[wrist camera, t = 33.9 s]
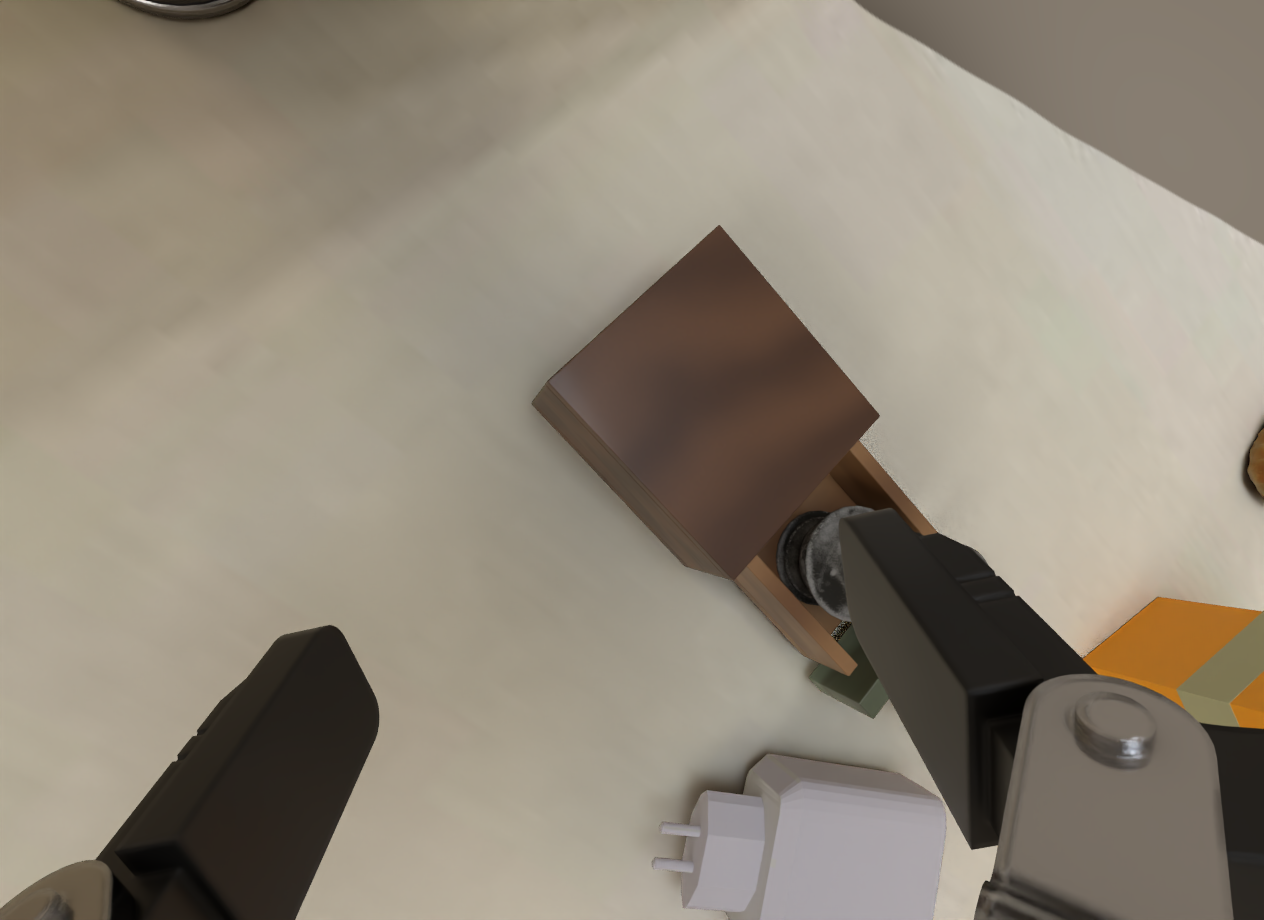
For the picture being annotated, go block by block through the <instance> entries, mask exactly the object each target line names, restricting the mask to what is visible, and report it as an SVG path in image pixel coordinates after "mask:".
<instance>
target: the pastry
mask: <svg viewBox="0 0 1264 920" xmlns="http://www.w3.org/2000/svg"><path fill="white" fill-rule="evenodd" d="M1257 435H1258V438H1257V439H1256V441H1254V444H1253V446H1252V448H1251V450H1250V455H1249V457H1250V463H1249V466H1248V469H1247V472H1248V474H1249V476H1250V479H1251V480H1252V481H1253V483H1254V484H1255V486H1256V488H1257V490H1258V492H1259V493H1260V494H1261V495H1262V496H1263V497H1264V428H1263V429H1262V430H1261V432H1260V433H1259V434H1257Z"/></svg>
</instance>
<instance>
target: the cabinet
mask: <svg viewBox="0 0 1264 920" xmlns="http://www.w3.org/2000/svg"><path fill="white" fill-rule="evenodd" d="M532 405H533V406H534V407H535V408H536V409H537V410H538V411H539V412H540V413H541V415H542V416H543V417H544V418H545V419H546V420H547V421H548V422H549V423H550V424H551V425H552V426H553V427H554V428H555V429H556V430H557V431H558V433H559V434H560V435H561V436H562V437H563V438H564V439H565V440H566V441H567V442H568V443H569V444H570V445H571V446H572V447H573V448H574V449H575V450H576V452H577V453H578V454H579V455H580V456H581V457H582V458H583V459H584V460H585V461H586V462H587V463H588V464H589V465H590V466H591V467H592V468H593V470H594V471H595V472H596V473H597V474H598V475H599V476H600V477H601V478H602V479H603V480H604V481H605V482H606V483H607V484H608V485H609V486H610V488H611V489H612V490H613V491H614V492H615V493H616V494H617V495H618V496H619V497H620V498H621V499H622V500H623V501H624V502H625V503H626V504H627V506H628V507H629V508H630V509H631V510H632V511H633V512H634V513H635V514H636V515H637V516H638V517H639V518H640V519H641V520H642V521H643V522H644V524H645V525H646V526H647V527H648V528H649V529H650V530H651V531H652V532H653V533H654V534H655V535H656V536H657V537H658V538H659V539H660V540H661V541H662V543H663V544H664V545H665V546H666V547H667V548H668V549H669V550H670V551H671V552H672V553H673V554H674V555H675V556H676V557H677V558H678V559H679V561H680V562H681V563H682V564H683V565H684V566H686V567H689V568H692V569H696V570H699V571H703V572H706V573H709V574H713V575H716V576H720V577H723V578H726V579H730V580H735V579H736V578H737V576H738V575H739V574H740V573H741V572H742V571H743V570H744V569H745V567H746V566H747V565H748V564H749V563H750V562H751V561H752V560H753V558H754V557H755V556H756V555H757V554H758V553H759V552H760V551H761V549H762V548H763V547H764V546H765V545H766V544H767V543H768V542H769V540H770V539H771V538H772V537H773V536H774V535H775V534H776V533H777V531H778V530H779V529H780V528H781V527H782V526H783V525H784V523H785V522H786V521H787V520H788V519H789V518H790V517H791V516H792V514H793V513H794V512H795V511H796V510H797V509H798V508H799V507H800V505H801V504H802V503H803V502H804V501H805V500H806V499H807V498H808V496H809V495H810V494H811V493H812V492H813V491H814V490H815V489H816V487H817V486H818V485H819V484H820V483H821V482H822V481H823V480H824V478H825V477H826V476H827V475H828V474H829V473H830V472H831V471H832V469H833V468H834V467H835V466H836V465H837V464H838V463H839V462H840V460H841V459H842V458H843V457H844V456H845V455H846V454H847V453H848V451H849V450H850V449H851V448H852V447H853V446H854V445H855V443H856V442H857V441H858V440H859V439H860V438H861V437H862V436H863V434H864V433H865V432H866V431H867V430H868V429H869V428H870V427H871V425H872V424H873V423H874V422H875V421H876V420H877V419H878V418H879V416H880V415H879V414H878V413H877V411H876V410H875V409H874V408H873V407H872V405H871V404H870V403H869V402H868V401H867V400H866V398H865V397H864V396H863V395H862V394H861V392H860V391H859V390H858V389H857V388H856V386H855V385H854V384H853V383H852V382H851V380H850V379H849V378H848V377H847V376H846V375H845V373H844V372H843V371H842V370H841V369H840V367H839V366H838V365H837V364H836V363H835V361H834V360H833V359H832V358H831V357H830V356H829V354H828V353H827V352H826V351H825V350H824V348H823V347H822V346H821V345H820V344H819V342H818V341H817V340H816V339H815V338H814V336H813V335H812V334H811V333H810V332H809V331H808V329H807V328H806V327H805V326H804V325H803V323H802V322H801V321H800V320H799V319H798V317H797V316H796V315H795V314H794V313H793V312H792V310H791V309H790V308H789V307H788V306H787V304H786V303H785V302H784V301H783V300H782V298H781V297H780V296H779V295H778V294H777V293H776V291H775V290H774V289H773V288H772V287H771V285H770V284H769V283H768V282H767V281H766V279H765V278H764V277H763V276H762V275H761V273H760V272H759V271H758V270H757V269H756V268H755V266H754V265H753V264H752V263H751V262H750V260H749V259H748V258H747V257H746V256H745V254H744V253H743V252H742V251H741V250H740V249H739V247H738V246H737V245H736V244H735V243H734V241H733V240H732V239H731V238H730V237H729V235H728V234H727V233H726V232H725V231H724V230H723V228H722V227H721V226H720V225H718V226H717V227H716V228H715V229H714V230H713V231H712V232H711V233H710V234H708V235H707V236H706V237H705V238H704V239H703V240H702V241H701V242H700V243H699V244H697V245H696V246H695V247H694V248H693V249H692V250H691V251H690V252H689V253H688V254H686V255H685V256H684V257H683V258H682V259H681V260H680V261H679V262H678V263H677V264H675V265H674V266H673V267H672V268H671V269H670V270H669V271H668V272H667V273H666V274H664V275H663V276H662V277H661V278H660V279H659V280H658V281H657V282H656V283H655V284H653V285H652V286H651V287H650V288H649V289H648V290H647V291H646V292H645V293H644V294H643V295H641V296H640V297H639V298H638V299H637V300H636V301H635V302H634V303H633V304H632V305H630V306H629V307H628V308H627V309H626V310H625V311H624V312H623V313H622V314H621V315H619V316H618V317H617V318H616V319H615V320H614V321H613V322H612V323H611V324H610V325H608V326H607V327H606V328H605V329H604V330H603V331H602V332H601V333H600V334H599V335H597V336H596V337H595V338H594V339H593V340H592V341H591V342H590V343H589V344H588V345H586V346H585V347H584V348H583V349H582V350H581V351H580V352H579V353H578V354H577V355H575V356H574V357H573V358H572V359H571V360H570V361H569V362H568V363H567V364H566V365H564V366H563V367H562V368H561V369H560V370H559V371H558V372H557V373H556V374H555V375H554V376H552V377H551V378H550V379H549V380H548V381H547V383H546V384H545V385H544V387H543V388H542V389H541V391H540V392H539V393H538V395H537V396H536V398H535V399H534V400H533V402H532Z"/></svg>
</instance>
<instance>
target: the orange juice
mask: <svg viewBox="0 0 1264 920" xmlns="http://www.w3.org/2000/svg"><path fill="white" fill-rule="evenodd" d="M1083 660H1084V661H1085V662H1086V663H1087V664H1088V665H1089V666H1090V667H1091V668H1092V669H1093V670H1094V671H1095V672H1096V673H1097V674H1098V675H1104V676H1110V677H1115V678H1119V679H1123V680H1127V681H1130V682H1133V683H1136V684H1139V685H1142V686H1144V687H1147V688H1149V689H1151V690H1153V691H1155V692H1157V693H1160V694H1162V695H1163V696H1165V697H1167V698H1168V699H1170V700H1172V701H1173V702H1175V703H1177V704H1178V705H1179V706H1181V707H1182V708H1183V709H1185V710H1186V711H1187V712H1189V713H1190V714H1191V715H1192V716H1193V717H1194V718H1195V719H1196V720H1197V721H1198V722H1200V723H1205V724H1213V725H1221V726H1232V727H1246V728H1260V729H1264V611H1263V612H1262V611H1255V610H1248V609H1240V608H1233V607H1226V606H1219V605H1212V604H1205V603H1197V602H1190V601H1183V600H1176V599H1169V598H1162V597H1158V598H1156V599H1155V600H1154V601H1153V602H1151V603H1150V604H1149V605H1148V606H1147V607H1145V608H1144V609H1143V610H1142V611H1140V612H1139V613H1138V614H1137V615H1136V616H1134V617H1133V618H1132V619H1131V620H1130V621H1128V622H1127V623H1126V624H1125V625H1123V626H1122V627H1121V628H1120V629H1119V630H1117V631H1116V632H1115V633H1114V634H1113V635H1111V636H1110V637H1109V638H1108V639H1106V640H1105V641H1104V642H1103V643H1102V644H1100V645H1099V646H1098V647H1097V648H1095V649H1094V650H1093V651H1092V652H1091V653H1089V654H1088V655H1087V656H1086V657H1085V658H1083Z"/></svg>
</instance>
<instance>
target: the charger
mask: <svg viewBox="0 0 1264 920" xmlns="http://www.w3.org/2000/svg"><path fill="white" fill-rule="evenodd" d="M659 829H660V832H661V833H665V834H674V835H683V836H687V838H686V842H685V847H684V852H683V857H682V860H678V859H668V858H658V857H655V858H654V859H653V860H652V867H653V869H656V870H667V871H677V872H682V880H681V896H682V905H683V908H692V909H704V910H716V911H725V912H726V914H727V915H728V917H729V919H730V920H933V916H934V909H935V903H936V896H937V890H938V883H939V877H940V870H941V864H942V857H943V851H944V844H945V837H946V814H945V808H944V805H943V803H942V801H941V800H940V798H939V797H937V796H936V795H934V794H933V793H931V792H929V791H928V790H926V789H924V788H923V787H921V786H920V785H918V784H916V783H915V782H913V781H912V780H910V779H908V778H907V777H905V776H904V775H902V774H899V773H893V772H886V771H880V770H873V769H867V768H860V767H853V766H847V765H840V764H834V763H827V762H820V761H814V760H807V759H801V758H794V757H787V756H781V755H774V754H767V755H766V756H765V757H763V758H762V759H761V760H760V761H759V762H758V763H757V764H756V765H755V766H754V767H753V768H752V769H751V770H750V771H749V772H748V775H747V778H746V782H745V787H744V792H743V795H740V794H733V793H725V792H718V791H710V790H706V791H705V792H703V793H702V794H701V795H700V797H699V799H698V801H697V803H696V805H695V807H694V810H693V812H692V814H691V818H690V823H689V824H680V823H672V822H661V823H660V825H659Z"/></svg>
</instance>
